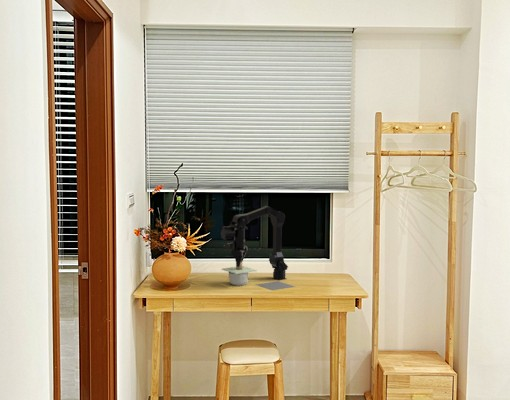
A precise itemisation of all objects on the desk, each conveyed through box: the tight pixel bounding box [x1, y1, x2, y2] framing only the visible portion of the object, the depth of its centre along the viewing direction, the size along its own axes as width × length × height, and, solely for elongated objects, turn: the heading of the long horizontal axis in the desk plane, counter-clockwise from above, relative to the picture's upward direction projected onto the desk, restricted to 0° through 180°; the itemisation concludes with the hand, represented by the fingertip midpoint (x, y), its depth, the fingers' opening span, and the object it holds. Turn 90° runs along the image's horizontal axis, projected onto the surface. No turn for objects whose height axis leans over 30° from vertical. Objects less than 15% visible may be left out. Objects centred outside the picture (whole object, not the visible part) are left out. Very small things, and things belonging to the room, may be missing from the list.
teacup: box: [228, 272, 249, 287], centre depth 322 cm, size 14×11×8 cm
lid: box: [221, 261, 258, 274], centre depth 321 cm, size 14×14×5 cm
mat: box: [255, 280, 297, 291], centre depth 318 cm, size 16×16×1 cm
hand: (239, 265), depth 321 cm, fingers open, 5 cm apart
